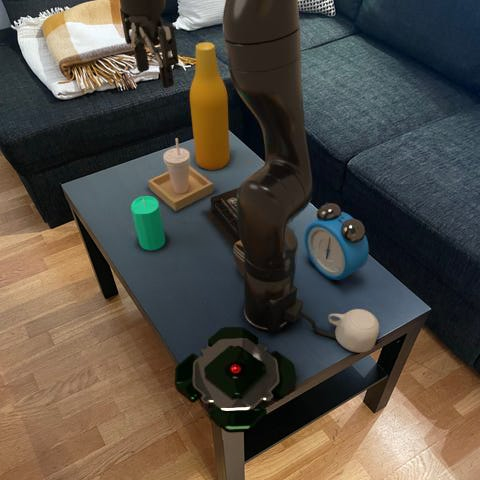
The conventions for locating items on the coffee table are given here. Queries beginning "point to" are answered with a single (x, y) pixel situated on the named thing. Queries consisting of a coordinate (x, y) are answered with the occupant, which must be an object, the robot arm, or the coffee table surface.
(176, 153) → the smoothie
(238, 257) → the doughnut
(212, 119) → the beer bottle
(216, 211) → the black electronic device
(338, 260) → the alarm clock
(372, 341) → the teacup
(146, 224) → the candle
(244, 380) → the four-lobed dark green device
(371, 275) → the coffee table surface
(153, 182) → the tray
